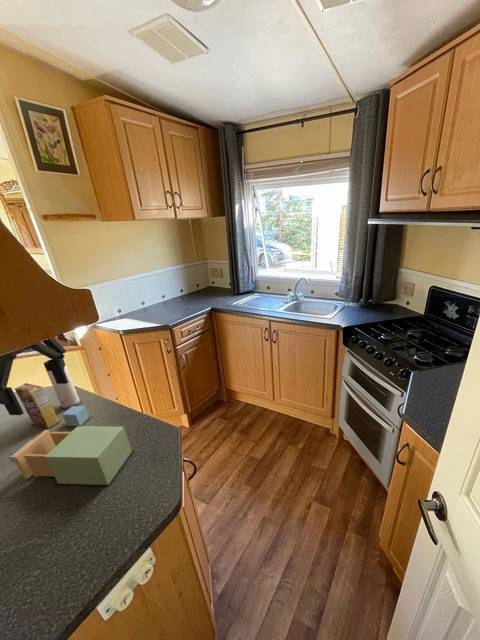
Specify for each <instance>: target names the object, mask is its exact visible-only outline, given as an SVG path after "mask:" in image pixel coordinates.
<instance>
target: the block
mask: <svg viewBox="0 0 480 640" xmlns="http://www.w3.org/2000/svg"><path fill="white" fill-rule="evenodd" d="M62 417H63V421H64V422H65V424H66V426H67V427H77V426H83V424H84V423H85V422H86V421H88V420H89V418H90V416H89V413H88V410H87V408H86V406H83V405H76V406H72V407H71V408H68V409H67V410H66V411H64V412H63V413H62Z"/></svg>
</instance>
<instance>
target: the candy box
mask: <svg viewBox="0 0 480 640" xmlns="http://www.w3.org/2000/svg"><path fill="white" fill-rule="evenodd" d="M14 391H15V392H16V394H17V396H18V398H19V400H20V402H21V404H22V406H23V408H24V410H25V411H26V413H27V415H28V417H29V419H30V421H31V423H32V424H33V425H37V426H40V427H43V428H47V429H50V428H52V427H54V426H56V425H57V424H58V423H59V422H60V421H59V418H58V416H57V414H56V412H55V409H54V407H53V406H52V403H51V402H50V399H49V397H48V394H47V393H46V391H45V387H44V386H41V385H36V384H31V383H28V382H25V383H23V384H21V385H19V386H17V387H14Z"/></svg>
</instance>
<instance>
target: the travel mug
mask: <svg viewBox="0 0 480 640" xmlns="http://www.w3.org/2000/svg"><path fill="white" fill-rule="evenodd" d="M61 360H62V363H63V365H64V372H65V374H66V377H67V379H68V383H67V384H57V383H56V380H55V378H54V376H53V373H52V371H51V368H50V366H49V364H48V360H46V361H44V362H43V367H44V369H45V371H46V373H47V376H48V378H49V381H50V382H51V385H52V387H53V389H54V392H55V395H56V396H57V400H58V402H59V404H60V406H61V408H62V409H67V410H68V409H70V408H71V407H72V406H79V404H80V403H81V400H80V397H79V395H78V393H77V390H76V387H75V385H74V382H73V380H72V377H71V375H70V372H69V369H68V367H67V364H66V363H65V360H64V358H63V359H61Z"/></svg>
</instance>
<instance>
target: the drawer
mask: <svg viewBox="0 0 480 640" xmlns="http://www.w3.org/2000/svg"><path fill="white" fill-rule="evenodd" d="M71 432H72V431H51V432H50V429H45V430H43V431H41V433H39V434H38V435H37V436H35V438H34V439H30V440H29V441H28V442H26V443H25V444H24V445H23V446H22V447H20V448H19V449H18V450H17V451H16V452H14V453H13V454H12V455H11V456H10V457H9V458H8V459H9V460H10V461H11V462H15V464H16V466H17V468H18V469H19V472H20V473H21V475H22V478H23V479H26V480H27V479H29V478H31V477H32V476H34V477H55V476H54V474H53V472H52V470H51V468H50V466H49V464H48V462H47V460H46V459H45V456H46V455H47V454H48V453H49V452H50V451H51V450H53V449H54V448H55V447H56V446H57V445H58V444H59V443H60V442H61V441H62V440H63V439H64V438H65V437H66V436H68V435H69V434H70V433H71Z"/></svg>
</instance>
